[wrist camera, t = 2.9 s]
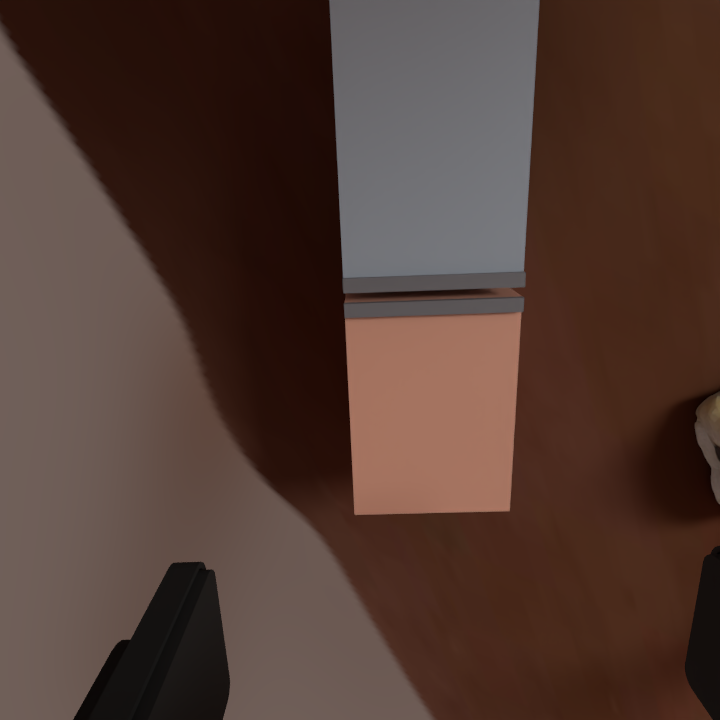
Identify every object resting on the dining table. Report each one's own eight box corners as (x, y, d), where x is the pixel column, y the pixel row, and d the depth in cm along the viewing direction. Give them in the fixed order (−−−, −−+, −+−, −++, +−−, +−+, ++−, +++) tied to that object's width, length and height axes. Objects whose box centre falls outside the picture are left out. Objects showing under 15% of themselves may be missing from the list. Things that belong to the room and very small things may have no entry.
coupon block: (332, -115, 17) (312, -283, 11) (491, -125, 16) (559, -299, 11) (349, 263, 20) (341, 293, 14) (479, 258, 20) (525, 286, 14)
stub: (351, 271, 20) (344, 304, 15) (478, 266, 20) (524, 297, 14) (358, 432, 23) (354, 518, 17) (473, 429, 22) (511, 514, 17)
